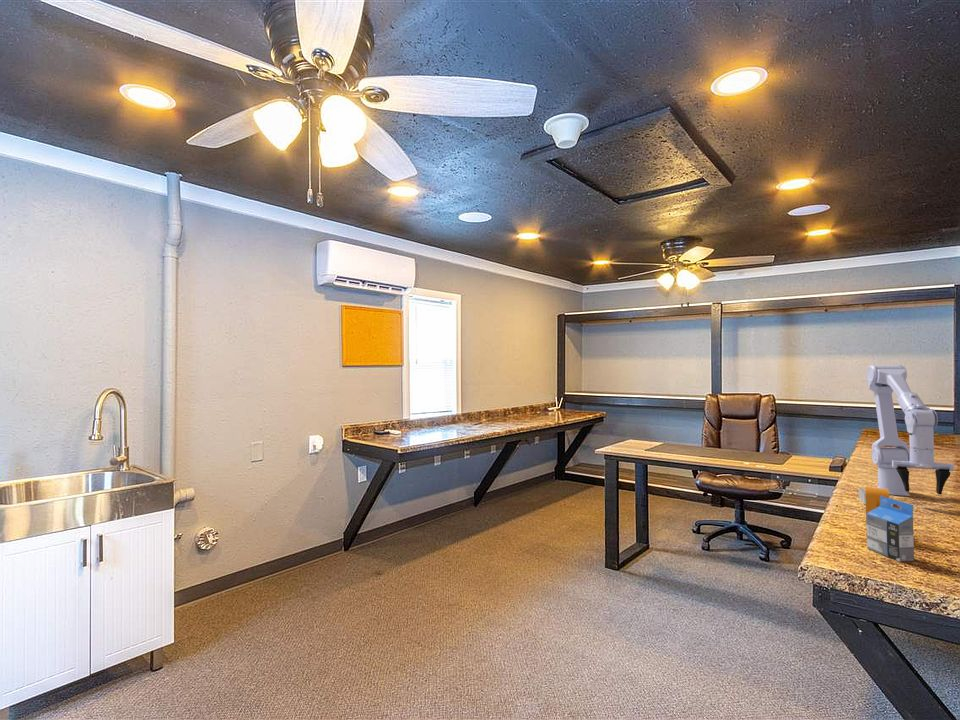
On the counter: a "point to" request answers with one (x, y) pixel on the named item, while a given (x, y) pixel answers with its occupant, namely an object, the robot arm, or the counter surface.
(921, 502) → the counter surface
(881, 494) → the bracket
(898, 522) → the ink cartridge box
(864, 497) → the chute mount
